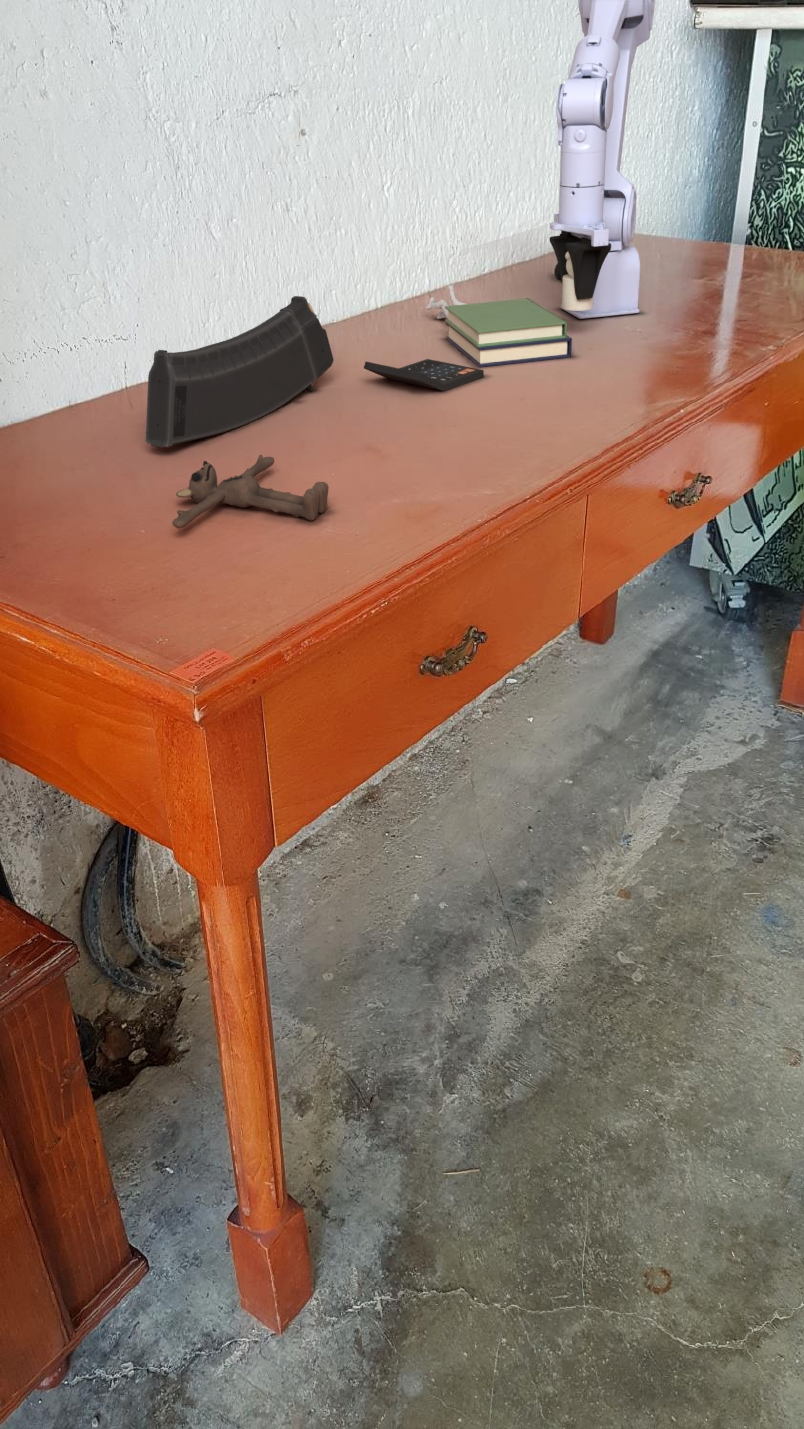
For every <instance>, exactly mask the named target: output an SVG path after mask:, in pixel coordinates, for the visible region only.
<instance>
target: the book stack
mask: <svg viewBox="0 0 804 1429" xmlns="http://www.w3.org/2000/svg"><path fill="white" fill-rule="evenodd" d="M445 309H447V310H448V319H447V318H444V319H445V320H444V321H445V324H446V325H447V326H448V336H446V341H448V342H449V343H450V344H451V345H453V347H455V348H456V349H457V350H458V351H460V352H461V353H462V354H463V355H464V356H465V357H467V358H468V360H470V361H471V362H473V363H474V364H475V365H476V366H477V367H478V368H484V367H494V366H495V367H496V366H502V365H511V364H522V363H531V362H539V361H540V362H541V361H550V360H558V359H566V358H567V359H568V358H572V346H573V338H572V337H571V336H569V335H568V321H567V320H565V319H563V318H561V317H560V316H558V315H556V314H555V313H553V312H551V311H550V310H549V309H547V308H545V307H544V306H541V305H540V304H538V303H537V302H535V301H534V300H532V299H530V298H528V297H527V298H516V299H515V298H514V299H506V300H496V301H486V302H485V301H484V302H475V303H466V304H464V305H450V306H445Z"/></svg>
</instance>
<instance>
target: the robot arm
mask: <svg viewBox="0 0 804 1429" xmlns="http://www.w3.org/2000/svg"><path fill="white" fill-rule="evenodd" d="M577 1H578V2H577V3H578V13H579V15H580V23H581V31H582V33H583V38H581V39H580V40H579V42H578V43H577V45H576V47H575V50H574V54H573V58H572V61H571V65H570V69H569V73H568V76H567V79H566V80H565V83H560V84H559V86H558V88H557V94H556V101H555V103H556V104H555V115H556V116H555V117H556V124H557V145H558V146H559V147H560V152H559V154H560V156H559V188H558V189H559V191H558V213H554V214H553V222H550V223H549V229H550V230H553V231H560V233H559V235H552V236H549V243H550V245H551V247H552V249H553V252H554V254H555V257H556V260H557V263H558V265H559V270H560V275H561V279H560V280H561V284H562V283H563V276H564V275H567V274H568V272H567V270H566V263H567V260H566V258H565V255H566V253H567V252H569V255H570V258H571V262H572V267H573V274H574V288H575V295H576V299H578V300H580V299H590V298H592V297H593V294H594V297H593V308H592V309H589V310H584V311H570V310H565V309H563V308H562V304H561V305H560V308H561V309H562V310H564V311H565V312H567V313H568V314H570V315H572V316H573V317H575V318H577V319H580V320H583V319H592V318H601V317H603V318H604V317H612V316H613V317H614V316H621V315H631V314H639V313H640V311H641V310H640V308H639V296H640V282H641V281H640V278H641V260H640V254H639V252H638V249H637V247H635V246H634V245H630V243H631V242H633V239H634V236H635V230H636V224H637V223H636V222H637V191H636V189H635V185H634V184H633V183H632V182H631V181H630V180H629V179H627V178H626V177H625V176H624V175H623V174H622V173H621V165H622V164H621V163H622V155H623V147H624V146H623V145H624V138H625V130H626V120H627V119H626V118H627V110H628V103H629V102H628V100H629V93H630V83H631V75H632V67H633V63H634V60H635V55H636V52H637V49H638V47H640V46H641V45H642V44H644V43H645V42H646V41H649V39H650V37H651V31H652V30H653V27H654V26H653V25H654V17H655V7H656V0H577Z"/></svg>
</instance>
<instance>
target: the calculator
mask: <svg viewBox="0 0 804 1429" xmlns="http://www.w3.org/2000/svg"><path fill="white" fill-rule="evenodd" d="M363 369H364V370H366V371H369V372H371V373H374V374H375V375H378V376H379V377H383V378H385V379H388V380H391V381H396V382H400V383H404V384H405V383H406V384H410V385H414V386H419V387H423V388H429V389H432V390H437V391H441V392H446V391H449V390H452V389H455V388H457V387H460V386H462V385H465V384H469V383H471V382H475V381H477V380H480V379H482V378H484V376H485V375H484V374H485V373H484V372H485V370H484V369H480V368H475V367H470V366H464V365H460V364H456V363H451V362H445V361H440V360H435V359H430V358H426V359H422V360H419V361H416V362H414V363H411V364H407V365H405V366H402V367H394V366H390V365H384V364H380V363H375V362H370V361H364V365H363Z"/></svg>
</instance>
